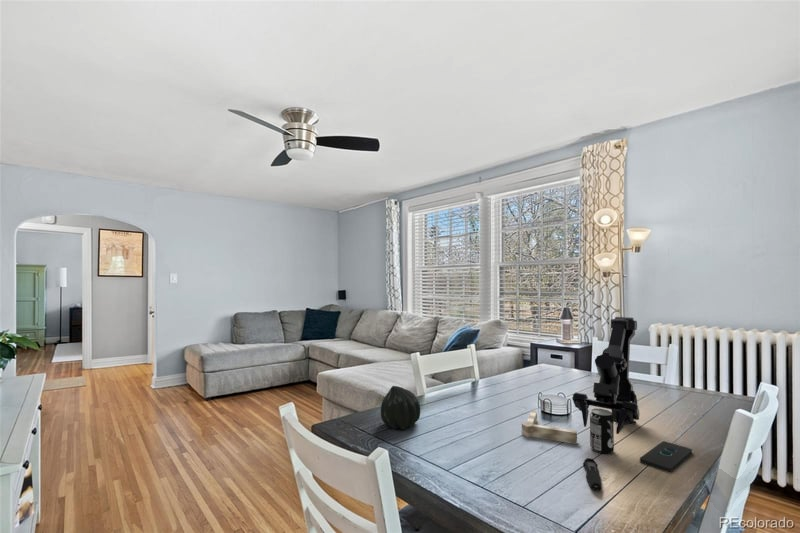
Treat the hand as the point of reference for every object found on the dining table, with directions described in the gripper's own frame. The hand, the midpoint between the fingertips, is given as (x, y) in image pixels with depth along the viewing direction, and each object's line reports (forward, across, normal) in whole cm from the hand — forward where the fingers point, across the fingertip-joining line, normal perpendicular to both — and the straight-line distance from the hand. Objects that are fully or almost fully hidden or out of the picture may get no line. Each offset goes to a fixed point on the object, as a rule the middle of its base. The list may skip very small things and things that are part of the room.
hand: (600, 429), depth 122 cm
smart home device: (-1, +16, +11) cm, 20 cm away
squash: (+22, -61, -12) cm, 66 cm away
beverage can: (+4, 0, +6) cm, 7 cm away
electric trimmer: (+19, +2, -8) cm, 21 cm away
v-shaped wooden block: (+3, -20, +6) cm, 21 cm away
